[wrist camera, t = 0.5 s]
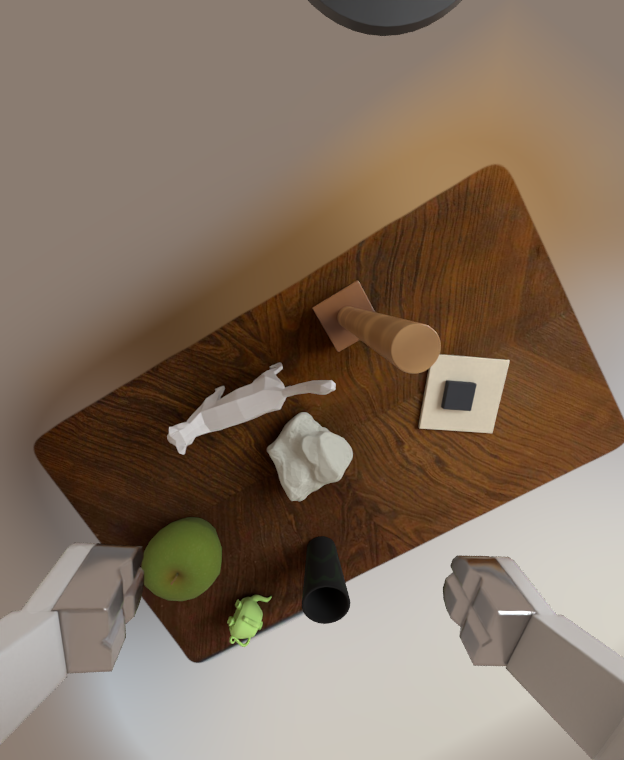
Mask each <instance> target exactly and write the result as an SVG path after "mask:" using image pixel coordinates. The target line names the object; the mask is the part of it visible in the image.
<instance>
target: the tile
mask: <svg viewBox="0 0 624 760" xmlns="http://www.w3.org/2000/svg"><path fill="white" fill-rule="evenodd" d="M509 361H510V360H507V359H495V358H483V357H470V356H458V355H446V354H439V357H438V359H437V361H436V362H435V363H434V364H433V365H432V366H431V367H430V368H429V369H428V375H427V381H426V386H425V392H424V397H423V403H422V409H421V414H420V420H419V425H418V427H419V428H421V429H436V430H451V431H465V432H480V433H492V432H493V428H494V424H495V420H496V416H497V411H498V407H499V403H500V399H501V395H502V391H503V386H504V382H505V378H506V374H507V370H508V366H509ZM446 380H450V381H463V382H474V383H476V384H477V386H476V390H475V395H474V399H473V404H472V408H471V411H463V410H449V409H443V408H442V407H441V404H442V399H443V393H444V388H445V383H446Z"/></svg>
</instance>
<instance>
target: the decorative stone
mask: <svg viewBox="0 0 624 760" xmlns="http://www.w3.org/2000/svg"><path fill="white" fill-rule="evenodd" d="M267 452H268V453H269V455H270V457H271V459H272V460H273V462H274V464H275V466H276V469H277V472H278V475H279V479H280V482H281V485H282V486H283V488H284V490H285V492H286V494H287V496H288V497H289V499H290V500H291V501H302V500H304V499H305V498H306V497H307V496H308V495H309V494H310V493H311V492H313V491H316V490H318V489H319V488H320V487H321V486H323V485H325V484H329V483H331V482H337V481H339V480H340V479H341V478H342V476H343V474H344V471H345V469H346V468H347V467H348V466H349V464H350V461H351V459H352V457H353V452H352V448H351V447H350V445H349V444H348V443H347V442H346V441H345V439H344V438H342V437H340V436H338V435H335V434H333V433H331V432H329V431H328V429H327V428H324V427H321V426H320V425H319V424H318V423H317V422H316V421H314V419H313V418H312V416H311V415H309V414H308V413H306V412H302V413H299V414H297V415H296V416H295V417H293V418H292V419H291V420H290V421H289V422H288V423H287V424H286V425H285V426H284V428H283V430H282V431H281V433H280V435H279V436H278V438H277V439H276V440H275V441H274V442H273V443H272V444H271V445H269V446H268V447H267Z"/></svg>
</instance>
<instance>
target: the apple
mask: <svg viewBox="0 0 624 760" xmlns="http://www.w3.org/2000/svg"><path fill="white" fill-rule="evenodd" d="M221 561H222V547H221V544H220V541H219V539H218V536H217V533H216V529H215V528H214V527H213V526H212V525H211V524H210V523H209V522H207V521H205V520H203V519H201V518H195V517H188V518H183V519H180V520H177V521H175V522H172V523H170V524H169V525H167V526H166V527H164V528H163V529H161V530H160V531H159V532H158V533H157V534H156V535H155V536H154V537H153V538H152V539H151V541H150V542H149V544H148V546H147V547H146V549H145V551H144V558H143V561H142V568H141V569H142V570H143V571H144V584H145V586H146V587H147V588H148V589H149V590H150V591H151V592H152V593H154V594H155V595H157V596H159V597H161V598H164V599H166V600H169V601H185V600H189V599H193V598H196V597H198V596H199V595H200V594H202V593H203V592H204V591H206V590H207V589H208V588H209V587H210V586H211V585H212V584H213V582H214V581H215V579H216V578H217V576H218V575H219V574H220V568H221Z"/></svg>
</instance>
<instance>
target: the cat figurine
mask: <svg viewBox="0 0 624 760" xmlns="http://www.w3.org/2000/svg"><path fill="white" fill-rule="evenodd" d="M274 367H276V368H274ZM272 368H273V369H272ZM282 369H283V366H282V363H277V364H275V365H272V366H270V370H267V371H266V372H264V373H263V374H261V375H260V376H259V377H258V378H257V379H255V380H254V381H253V383H252V384H249V385H247V386H244V387H241V388H239V389H236V390H235V391H233V392H231V393H230V394H228V395H226V396H224V397H223V398H221V399H220V397H221V395H222V394H223V392H224V390H225V387H224V386H221V387H219V388H216V389H215V391H216V392H215V393H214V394H212V395H211V396H209V397H208V398H206V399H205V401H204V402H203V404H202V405H201V406H200V407H199V408H198V409H197V410H196V411H195V412H194V413H193V414H192V415H191V416H190V418H189V419H188V420H187V422H184V423H180V424H177V425H175V426H172V427H169V434H168V436H167V439H168V441H169V442H170V443H171V444H174V445H175V446H176V447H177V450H178V452H179V453H180V454H185V450H186V446H187V445H190V444H192V442H193V440H194V439H195V437H197V436H200V435H202V434H205V433H209V432H213V431H218V430H222V429H224V428H227V427H230V426H234V425H237V424H240V423H243V422H246V421H249V420H252V419H254V418H257V417H259V416H261V415H263V414H265V413H268V412H272V411H276V410H279V409H281V407H282V405H283V403H284V401H285V399H286V397H288V396H292V395H296V394H302V393H314V394H321V395H326V394H328V393H330V392H332V391H334V390H335V387H336V384H335V383H334V382H333V381H332V380H316V381H309V382H305V383H300V384H297V385H294V386H288V387H286V388H285V387H284V385H283V383H282V382H281V380H280V379H279V378H278V377H277V376H276V374H277V373H278V372H280V371H281V370H282Z"/></svg>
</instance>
